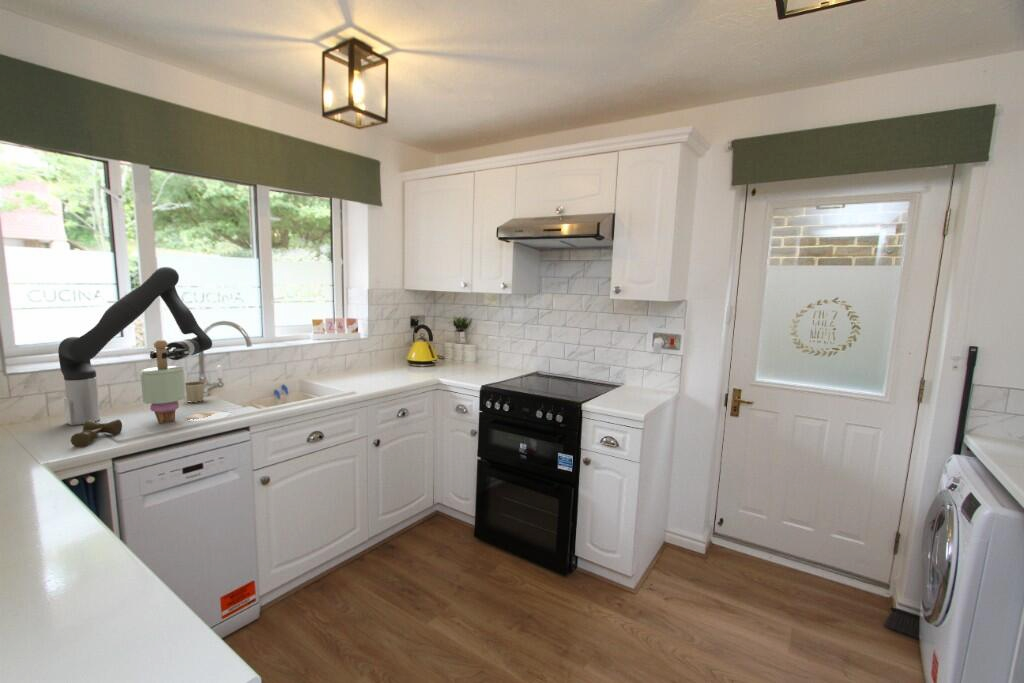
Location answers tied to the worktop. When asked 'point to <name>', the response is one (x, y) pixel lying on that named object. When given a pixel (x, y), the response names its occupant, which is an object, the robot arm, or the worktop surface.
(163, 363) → the green knobbed canister
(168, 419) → the cupcake
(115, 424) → the kendama
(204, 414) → the cork mat
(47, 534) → the worktop surface
